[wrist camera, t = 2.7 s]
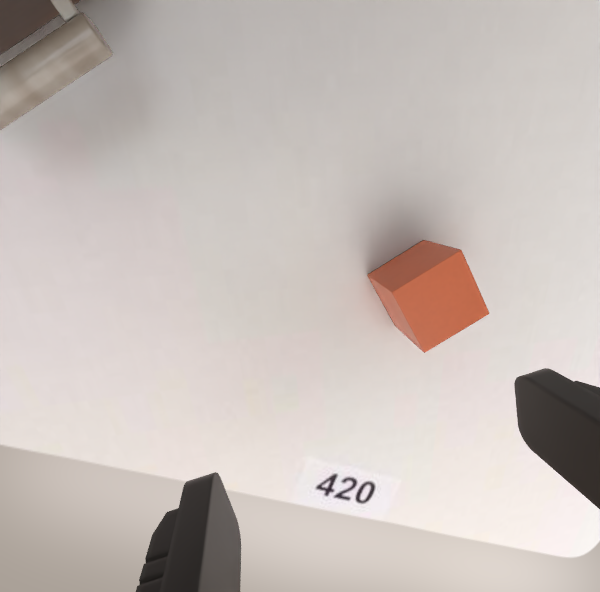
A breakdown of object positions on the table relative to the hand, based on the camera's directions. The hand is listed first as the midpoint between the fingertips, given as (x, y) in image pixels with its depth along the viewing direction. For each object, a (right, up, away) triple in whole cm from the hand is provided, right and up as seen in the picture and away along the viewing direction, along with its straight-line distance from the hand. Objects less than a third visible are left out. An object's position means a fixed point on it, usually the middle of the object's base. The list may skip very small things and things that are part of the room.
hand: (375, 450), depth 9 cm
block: (+6, +5, +15) cm, 17 cm away
